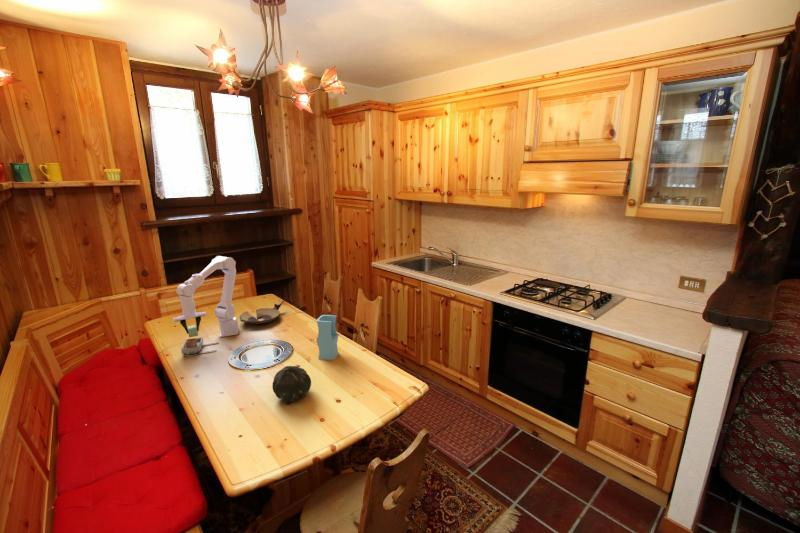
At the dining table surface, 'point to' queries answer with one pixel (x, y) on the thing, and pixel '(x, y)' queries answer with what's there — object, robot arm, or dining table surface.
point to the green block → (192, 331)
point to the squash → (291, 383)
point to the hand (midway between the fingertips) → (192, 331)
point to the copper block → (191, 343)
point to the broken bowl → (262, 314)
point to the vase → (327, 337)
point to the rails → (201, 352)
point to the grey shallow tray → (193, 349)
